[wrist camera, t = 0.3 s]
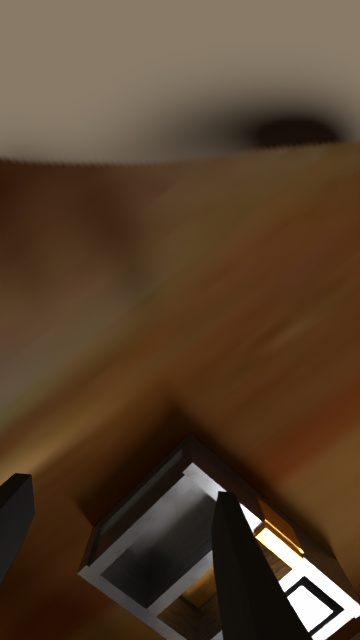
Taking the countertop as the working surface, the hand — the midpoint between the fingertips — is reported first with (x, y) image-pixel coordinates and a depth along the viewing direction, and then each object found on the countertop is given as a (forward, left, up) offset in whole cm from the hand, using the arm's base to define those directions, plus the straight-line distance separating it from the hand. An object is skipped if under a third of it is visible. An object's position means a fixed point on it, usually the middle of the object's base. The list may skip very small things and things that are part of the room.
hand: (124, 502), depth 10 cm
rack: (-7, -14, -10) cm, 18 cm away
